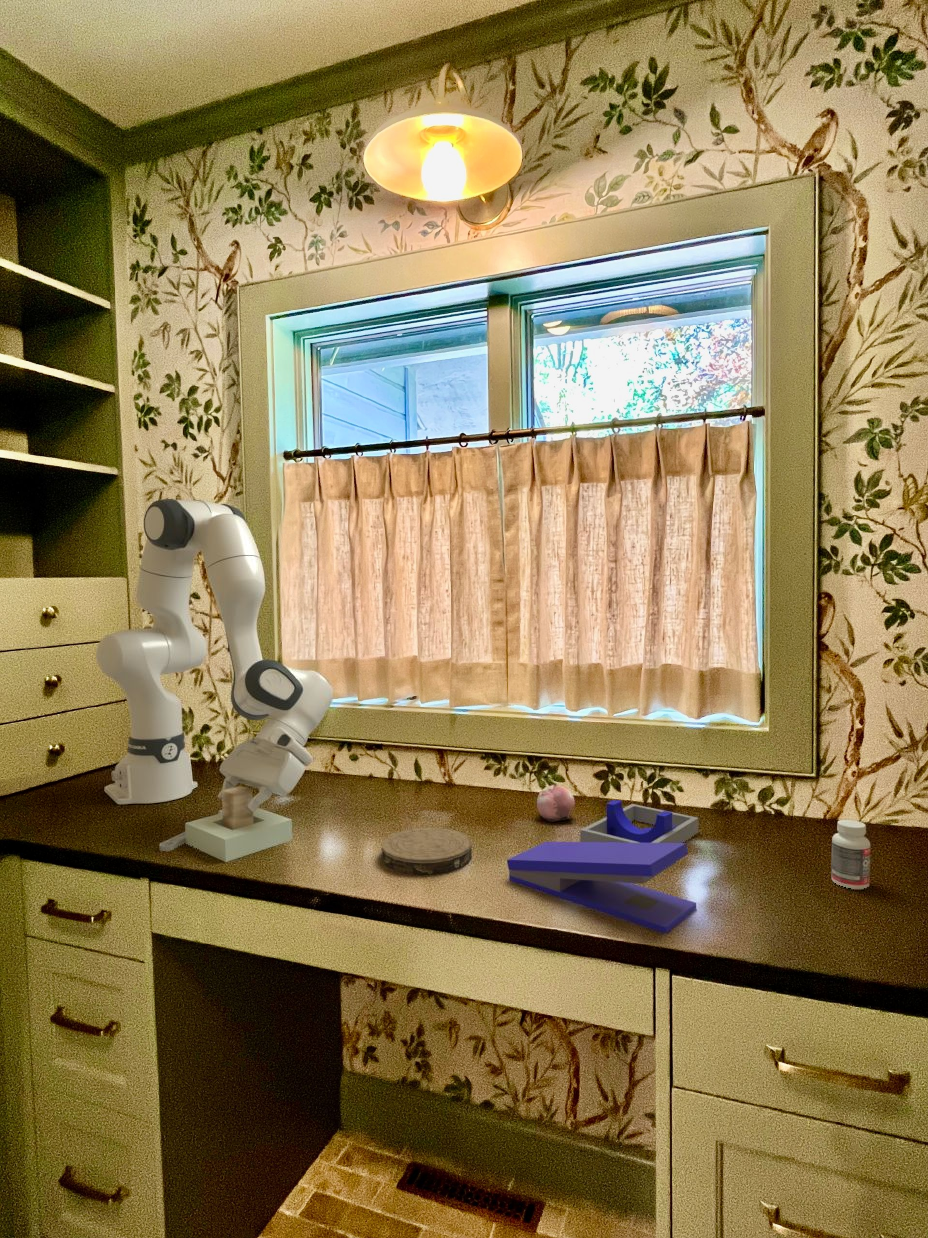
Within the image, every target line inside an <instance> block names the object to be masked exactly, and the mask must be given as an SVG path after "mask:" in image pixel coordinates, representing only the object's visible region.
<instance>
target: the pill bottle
mask: <svg viewBox="0 0 928 1238" xmlns="http://www.w3.org/2000/svg"><path fill="white" fill-rule="evenodd" d="M836 828H837V829H836V830H837V833H834V834H833V836H832V839H831V840H832V841H831V880H832V882H833V883H834V884H835V883H836V885H837V886H839V885H840V886H839V887H841V886H843V887H842V888H844V887H846V888H845V889H848V888H851V889H850V890H865V889H868V888H869V887H870V873H871V872H870V870H871V869H870V868H871V842H870V840H869V839H868V838H867V837H866V836H865V835H866V833H867V825H866V824H865V823H864V822H862V821H858V820H853V819H839V820H838V821H837V826H836ZM867 887H868V888H867ZM864 888H865V889H864Z"/></svg>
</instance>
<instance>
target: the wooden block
mask: <svg viewBox="0 0 928 1238" xmlns="http://www.w3.org/2000/svg"><path fill="white" fill-rule="evenodd" d="M221 790H222V789H221ZM253 791H254V790H253V789H251V788H249V787H246V786H243V785H239V786H233V788H230V789H226V790H222V800H221V802H222V804H221V805H222V809H223V827H226V828H228V829H231V830H234V829H238V828H241V827H245V826H248V825H251V824H253V811H250V810H248V809H247V808H246V807H245V804H246V803H247V802H248V800H249V798H253V797H254V796H253V795H254V793H253Z"/></svg>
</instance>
